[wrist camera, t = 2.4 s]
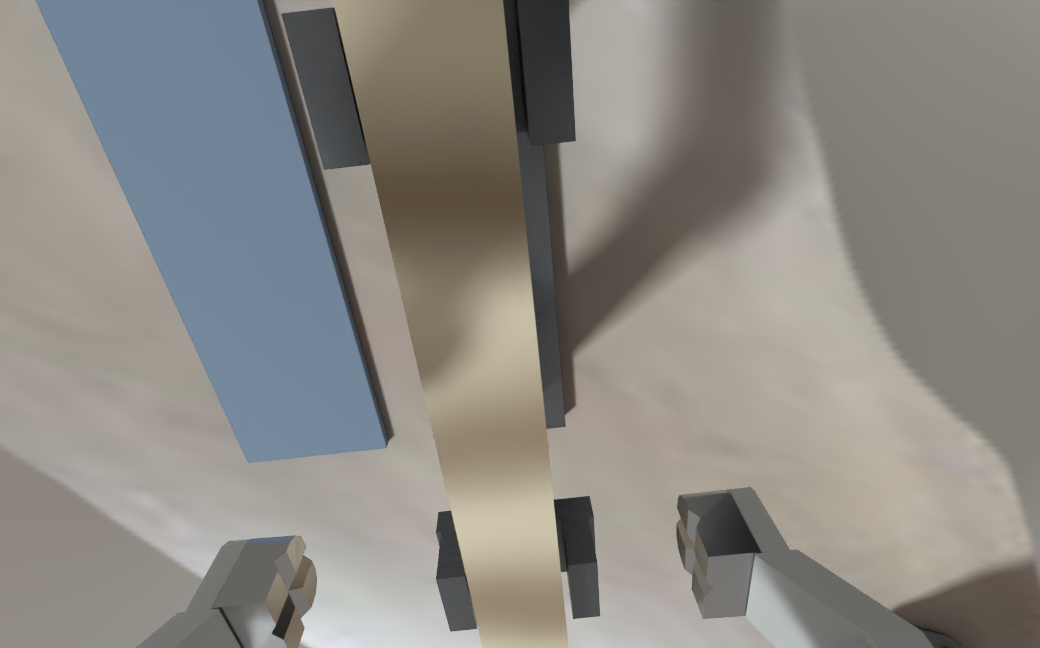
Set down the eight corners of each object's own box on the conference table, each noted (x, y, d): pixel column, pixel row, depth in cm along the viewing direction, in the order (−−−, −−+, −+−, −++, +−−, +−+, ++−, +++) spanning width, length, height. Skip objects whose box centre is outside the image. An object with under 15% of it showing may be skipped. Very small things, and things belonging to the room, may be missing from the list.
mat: (40, -12, 22) (29, -13, 22) (251, -37, 22) (245, -39, 22) (251, 456, 35) (248, 462, 34) (388, 441, 34) (386, 447, 34)
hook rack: (384, -38, 22) (223, -153, 9) (525, -55, 22) (570, -194, 9) (471, 426, 34) (455, 670, 21) (563, 416, 34) (607, 654, 21)
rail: (358, -42, 12) (317, -67, 9) (494, -58, 12) (493, -88, 9) (489, 595, 22) (488, 671, 19) (561, 588, 22) (570, 662, 19)
